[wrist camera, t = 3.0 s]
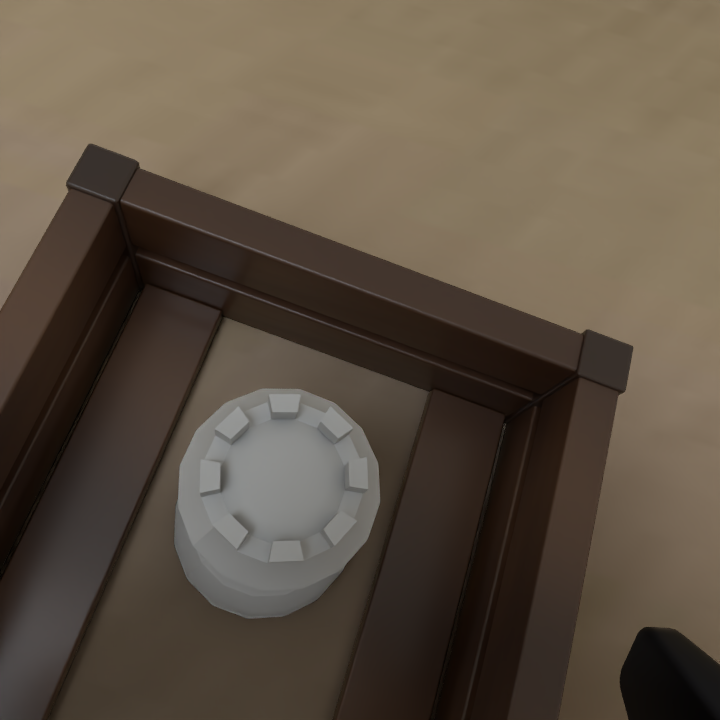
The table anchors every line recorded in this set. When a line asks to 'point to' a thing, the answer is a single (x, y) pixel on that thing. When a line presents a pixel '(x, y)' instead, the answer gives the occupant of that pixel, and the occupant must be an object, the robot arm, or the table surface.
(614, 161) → the table surface
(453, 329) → the crate
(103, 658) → the table surface
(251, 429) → the rook chess piece
